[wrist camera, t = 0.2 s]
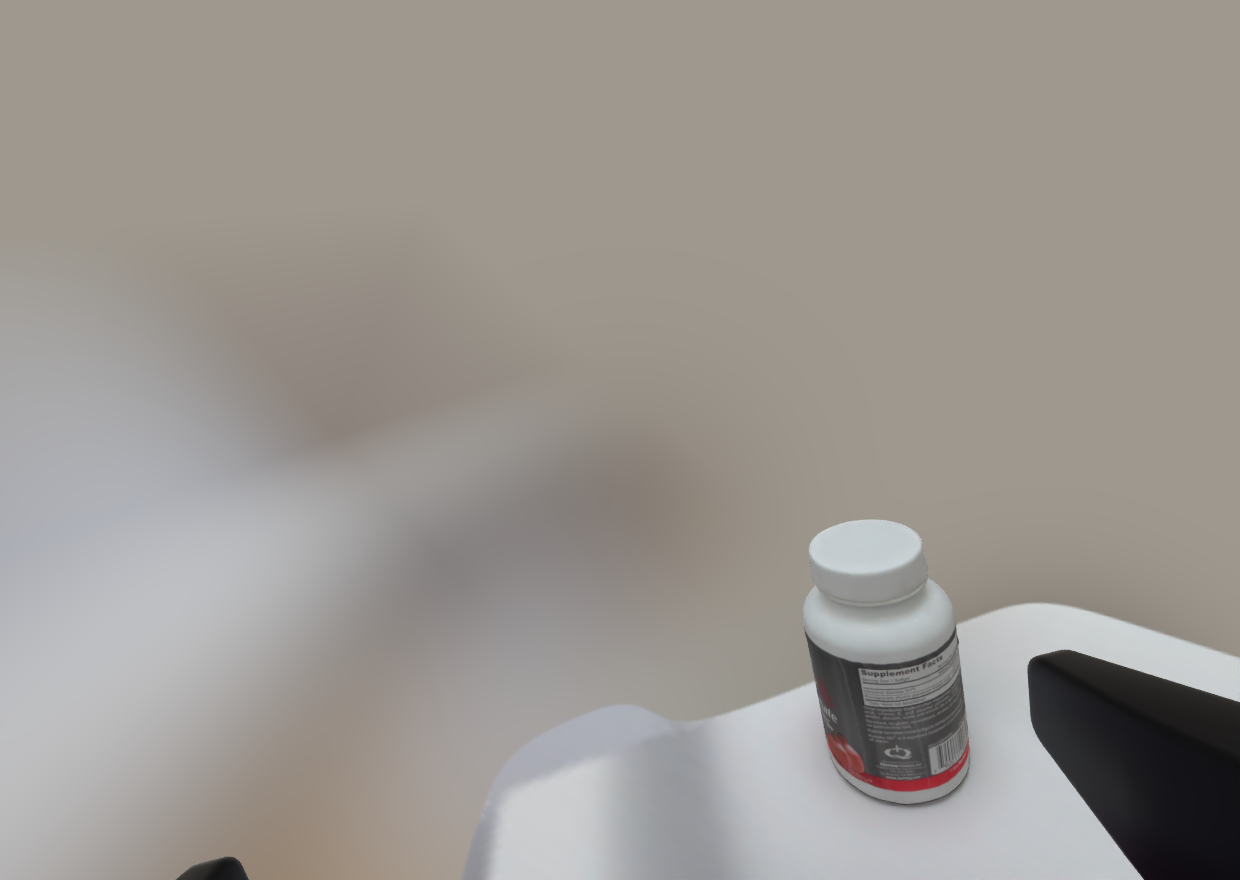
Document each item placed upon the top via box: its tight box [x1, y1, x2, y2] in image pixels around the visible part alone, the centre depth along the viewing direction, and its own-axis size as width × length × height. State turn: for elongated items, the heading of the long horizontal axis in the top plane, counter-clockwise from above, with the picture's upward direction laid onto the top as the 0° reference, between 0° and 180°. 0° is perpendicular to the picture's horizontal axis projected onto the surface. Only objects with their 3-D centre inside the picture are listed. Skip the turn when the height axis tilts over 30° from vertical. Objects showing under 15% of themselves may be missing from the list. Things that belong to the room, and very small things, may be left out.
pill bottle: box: [803, 520, 970, 804], centre depth 25 cm, size 5×5×10 cm
